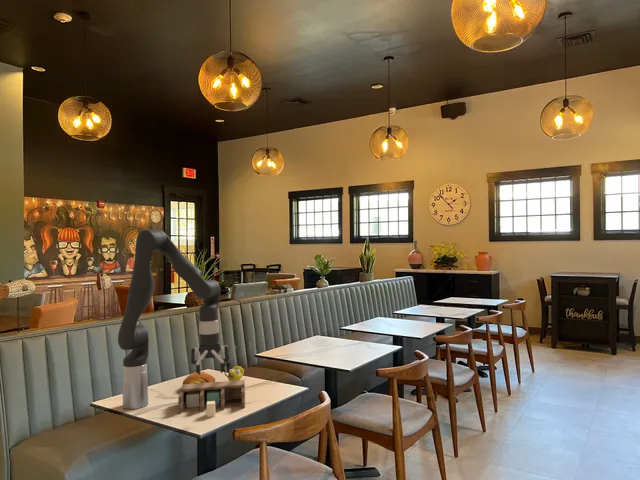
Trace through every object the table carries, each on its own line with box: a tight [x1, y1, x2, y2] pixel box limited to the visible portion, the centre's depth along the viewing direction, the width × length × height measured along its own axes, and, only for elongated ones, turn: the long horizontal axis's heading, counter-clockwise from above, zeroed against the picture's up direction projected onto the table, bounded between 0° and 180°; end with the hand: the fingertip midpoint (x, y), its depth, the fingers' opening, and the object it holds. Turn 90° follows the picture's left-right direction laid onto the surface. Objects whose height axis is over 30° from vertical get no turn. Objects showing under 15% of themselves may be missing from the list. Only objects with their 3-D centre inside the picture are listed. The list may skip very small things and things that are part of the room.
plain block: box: [186, 391, 200, 408], centre depth 194 cm, size 5×5×5 cm
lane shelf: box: [177, 379, 246, 414], centre depth 193 cm, size 26×13×8 cm, turn 99°
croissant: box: [182, 371, 216, 385], centre depth 217 cm, size 14×16×8 cm
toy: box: [223, 361, 245, 381], centre depth 211 cm, size 6×14×15 cm
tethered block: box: [206, 389, 221, 418], centre depth 189 cm, size 5×18×5 cm, turn 9°
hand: (210, 373), depth 182 cm, fingers open, 8 cm apart
